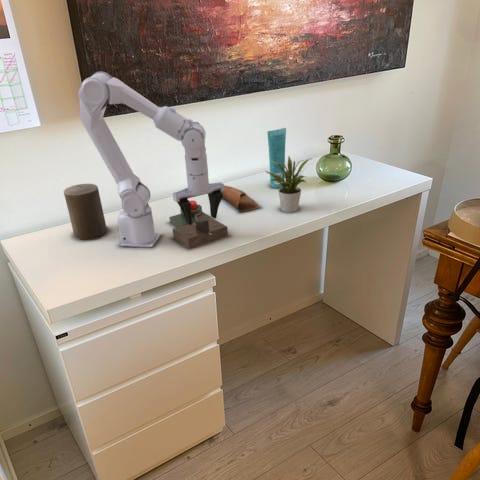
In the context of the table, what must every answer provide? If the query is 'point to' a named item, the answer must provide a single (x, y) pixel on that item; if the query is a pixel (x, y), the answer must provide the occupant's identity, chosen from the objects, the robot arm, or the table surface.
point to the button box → (180, 218)
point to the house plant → (289, 186)
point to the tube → (276, 153)
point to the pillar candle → (85, 211)
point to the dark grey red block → (201, 223)
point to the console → (199, 233)
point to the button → (193, 205)
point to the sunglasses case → (239, 199)
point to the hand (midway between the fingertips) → (201, 220)
